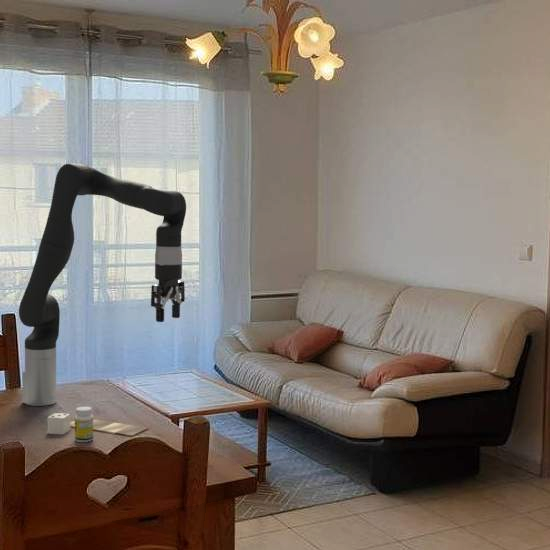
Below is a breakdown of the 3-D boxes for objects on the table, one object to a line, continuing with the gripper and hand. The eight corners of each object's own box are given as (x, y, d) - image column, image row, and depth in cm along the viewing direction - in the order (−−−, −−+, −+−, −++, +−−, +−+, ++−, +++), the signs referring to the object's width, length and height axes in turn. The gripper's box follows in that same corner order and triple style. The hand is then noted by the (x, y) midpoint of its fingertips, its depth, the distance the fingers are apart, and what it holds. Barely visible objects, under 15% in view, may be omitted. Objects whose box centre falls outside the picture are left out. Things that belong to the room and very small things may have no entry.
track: (64, 425, 225) (64, 424, 225) (82, 419, 232) (82, 417, 232) (131, 436, 216) (131, 435, 216) (148, 429, 223) (148, 427, 223)
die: (47, 433, 218) (47, 417, 217) (54, 429, 222) (54, 412, 222) (63, 434, 217) (63, 418, 217) (70, 430, 221) (70, 413, 221)
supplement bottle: (76, 437, 215) (76, 406, 214) (94, 437, 215) (94, 406, 214) (73, 442, 210) (73, 410, 209) (92, 442, 210) (91, 410, 210)
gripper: (170, 260, 235) (169, 315, 237) (143, 263, 222) (142, 322, 224) (192, 261, 232) (192, 317, 234) (166, 264, 219) (166, 324, 221)
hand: (168, 319), depth 229 cm, fingers open, 8 cm apart
